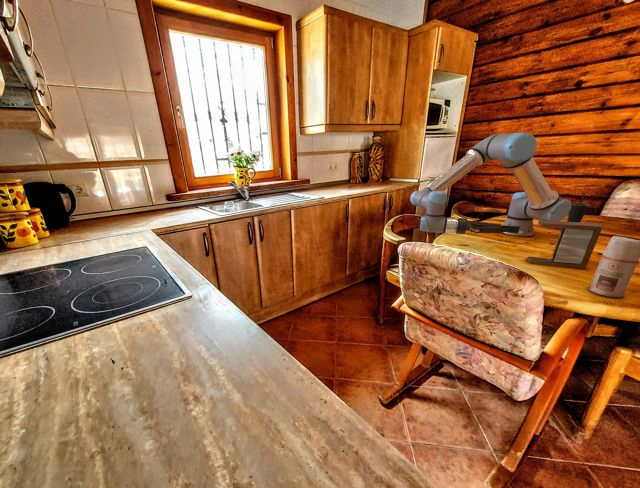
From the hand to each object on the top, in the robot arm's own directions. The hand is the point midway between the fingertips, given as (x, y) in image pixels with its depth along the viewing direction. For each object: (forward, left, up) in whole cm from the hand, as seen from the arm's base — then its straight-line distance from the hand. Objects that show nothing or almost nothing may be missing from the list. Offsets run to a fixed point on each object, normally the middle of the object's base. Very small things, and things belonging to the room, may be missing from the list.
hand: (518, 229), depth 120 cm
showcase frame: (+1, +14, -14) cm, 20 cm away
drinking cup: (-65, +40, -14) cm, 78 cm away
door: (0, +19, -12) cm, 22 cm away
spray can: (+25, +22, -14) cm, 36 cm away
